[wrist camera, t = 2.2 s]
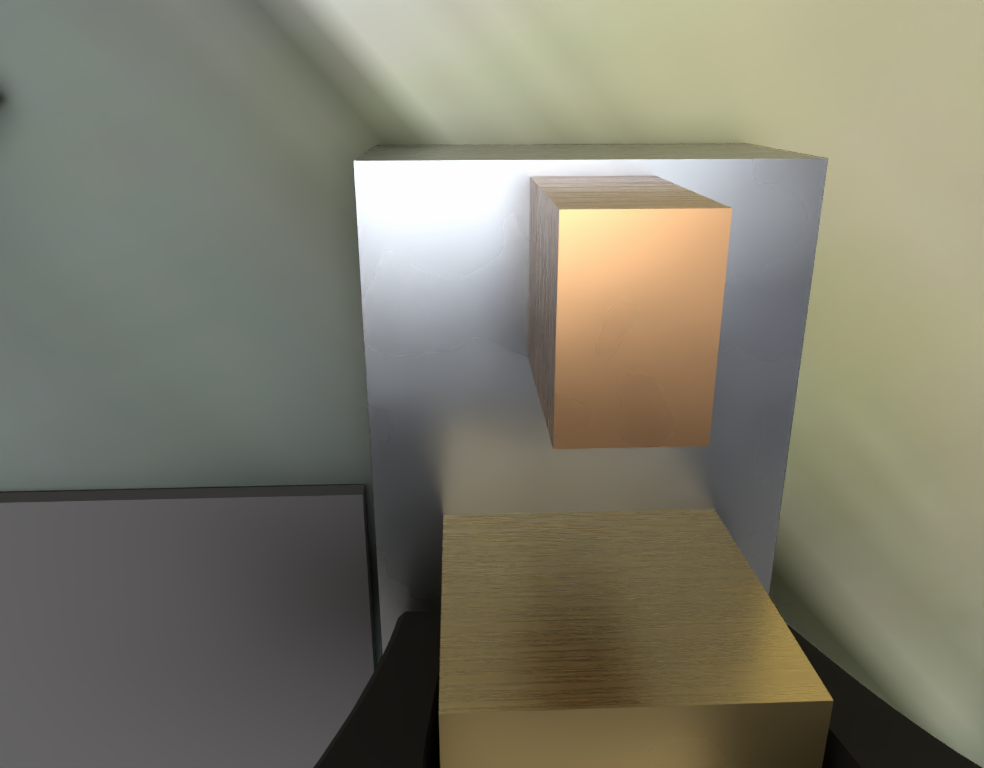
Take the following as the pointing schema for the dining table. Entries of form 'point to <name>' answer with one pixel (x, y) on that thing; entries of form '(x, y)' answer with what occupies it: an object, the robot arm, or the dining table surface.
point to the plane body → (579, 337)
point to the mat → (182, 625)
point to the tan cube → (617, 647)
